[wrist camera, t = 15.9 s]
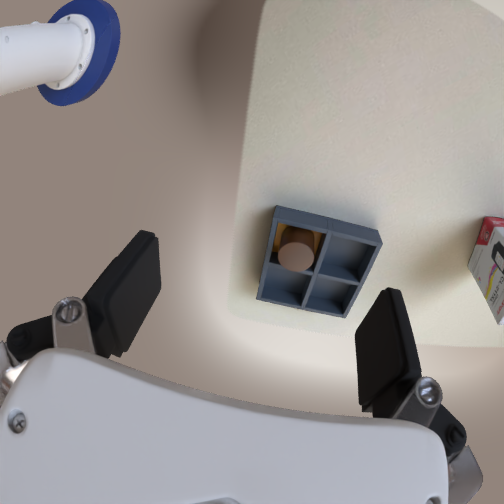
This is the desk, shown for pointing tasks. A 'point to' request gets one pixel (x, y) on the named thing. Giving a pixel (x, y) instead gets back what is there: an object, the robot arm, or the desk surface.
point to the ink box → (490, 265)
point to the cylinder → (296, 249)
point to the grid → (319, 264)
